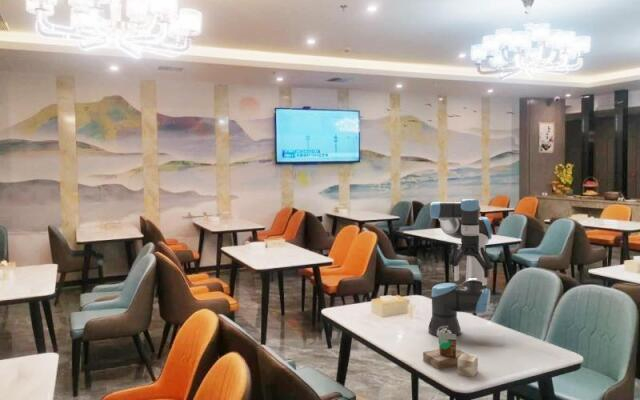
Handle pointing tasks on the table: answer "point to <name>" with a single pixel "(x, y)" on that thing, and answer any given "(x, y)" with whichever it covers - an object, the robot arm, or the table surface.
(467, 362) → the cream cube
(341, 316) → the table surface
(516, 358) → the table surface
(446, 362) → the base block
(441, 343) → the food container
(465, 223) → the robot arm
